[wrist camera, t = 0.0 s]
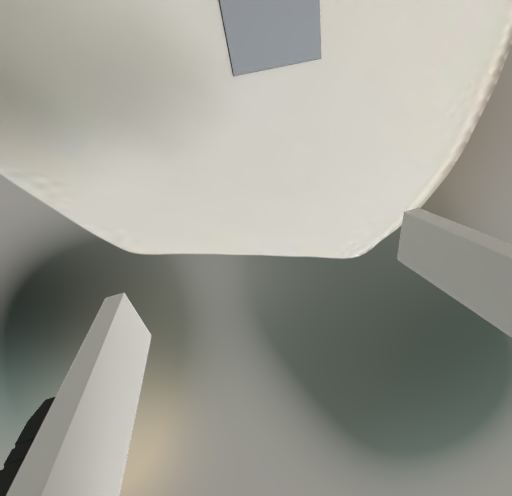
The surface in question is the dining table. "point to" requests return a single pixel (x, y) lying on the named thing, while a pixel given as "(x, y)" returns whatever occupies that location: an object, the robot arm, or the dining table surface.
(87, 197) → the dining table surface
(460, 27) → the dining table surface
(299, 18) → the mat
